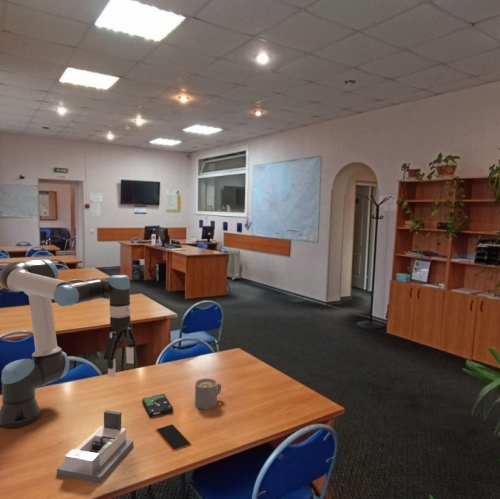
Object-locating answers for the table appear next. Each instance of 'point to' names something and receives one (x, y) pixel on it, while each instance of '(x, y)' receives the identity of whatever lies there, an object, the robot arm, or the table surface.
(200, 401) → the coffee mug
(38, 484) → the table surface
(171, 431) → the smartphone
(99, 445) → the dark grey angular piece
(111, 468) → the bench
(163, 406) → the disk drive
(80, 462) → the brushed metal slab
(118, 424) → the plunger
